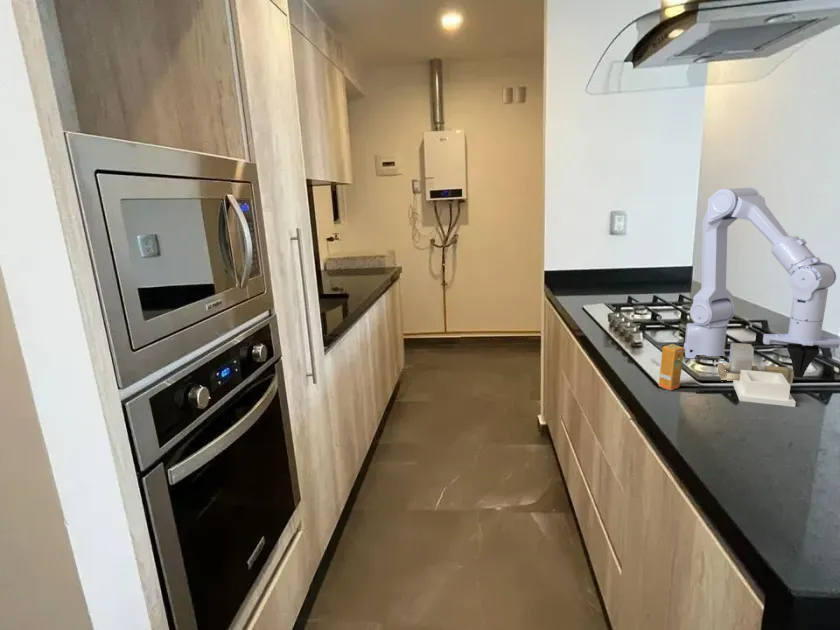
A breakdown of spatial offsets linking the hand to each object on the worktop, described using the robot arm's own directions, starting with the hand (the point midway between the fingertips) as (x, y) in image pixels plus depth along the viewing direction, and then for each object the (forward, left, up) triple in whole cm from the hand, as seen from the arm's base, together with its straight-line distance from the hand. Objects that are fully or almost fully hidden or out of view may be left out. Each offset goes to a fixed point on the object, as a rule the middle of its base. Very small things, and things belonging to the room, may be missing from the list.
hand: (797, 376), depth 109 cm
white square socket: (-8, -10, -2) cm, 13 cm away
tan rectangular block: (-4, 0, -2) cm, 4 cm away
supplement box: (-26, -11, -2) cm, 29 cm away
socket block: (-11, 0, -2) cm, 11 cm away
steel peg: (-11, 0, -2) cm, 11 cm away
